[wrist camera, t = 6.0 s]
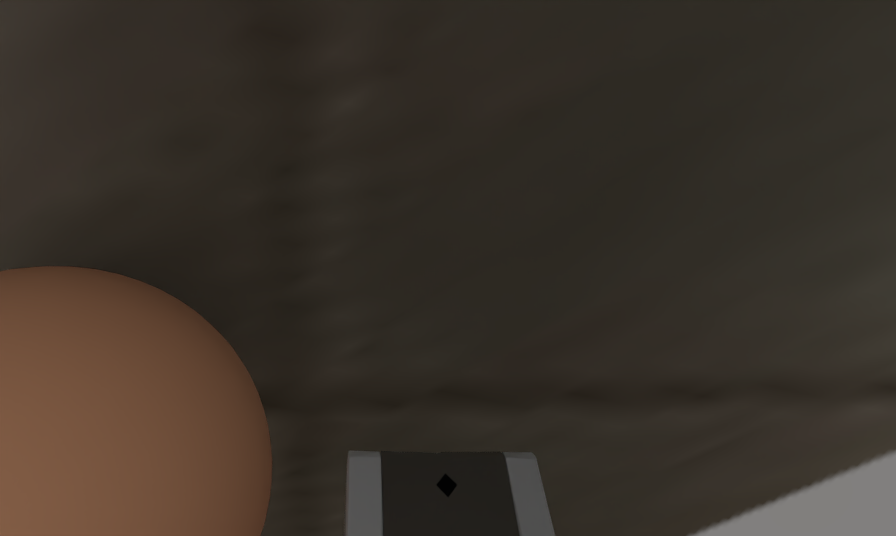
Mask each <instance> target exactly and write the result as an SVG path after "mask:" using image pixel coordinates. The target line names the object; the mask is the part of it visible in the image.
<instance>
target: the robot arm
mask: <svg viewBox="0 0 896 536" xmlns="http://www.w3.org/2000/svg"><path fill="white" fill-rule="evenodd" d="M343 536H555V533H554V529H553V525H552V520H551V516H550V512H549V508H548V504H547V500H546V496H545V492H544V487H543V483H542V479H541V475H540V471H539V467H538V463H537V459H536V456H535V455H534V454H533V452H502V453H501V452H441V453H428V452H396V451H381V452H380V451H348V457H347V475H346V494H345V512H344V534H343Z"/></svg>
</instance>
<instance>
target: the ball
mask: <svg viewBox="0 0 896 536" xmlns="http://www.w3.org/2000/svg"><path fill="white" fill-rule="evenodd" d="M271 482H272V453H271V442H270V435H269V427H268V423H267V419H266V416H265V412H264V408H263V405H262V402H261V399H260V396H259V393H258V391H257V389H256V387H255V384H254V382H253V380H252V378H251V376H250V374H249V372H248V371H247V369H246V367H245V366H244V364H243V362H242V361H241V359H240V358H239V356H238V355H237V353H236V352H235V350H234V349H233V348H232V346H231V345H230V344H229V343H228V342H227V341H226V339H225V338H224V337H223V336H222V335H221V334H220V333H219V332H218V331H217V330H216V329H215V328H214V327H213V326H212V325H211V324H210V323H209V322H208V321H206V320H205V319H204V318H203V317H202V316H201V315H200V314H198V313H197V312H196V311H195V310H193V309H192V308H190V307H189V306H188V305H186V304H185V303H183V302H182V301H180V300H179V299H177V298H175V297H173V296H172V295H170V294H168V293H166V292H164V291H162V290H161V289H158V288H156V287H154V286H151V285H149V284H146V283H144V282H142V281H139V280H136V279H133V278H130V277H127V276H123V275H120V274H117V273H112V272H107V271H102V270H98V269H91V268H82V267H73V266H41V267H28V268H18V269H9V270H4V271H0V536H261V533H262V530H263V527H264V524H265V519H266V515H267V510H268V505H269V500H270V491H271Z"/></svg>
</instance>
